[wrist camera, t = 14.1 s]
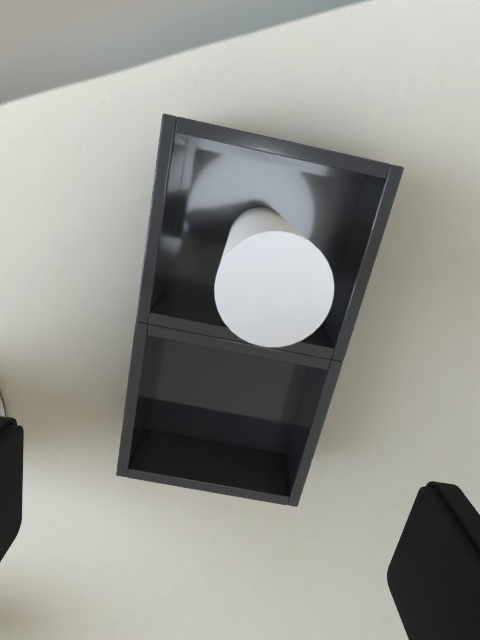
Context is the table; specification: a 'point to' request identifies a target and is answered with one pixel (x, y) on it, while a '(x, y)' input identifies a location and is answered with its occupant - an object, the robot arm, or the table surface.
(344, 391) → the table surface
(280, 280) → the tube
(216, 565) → the table surface
